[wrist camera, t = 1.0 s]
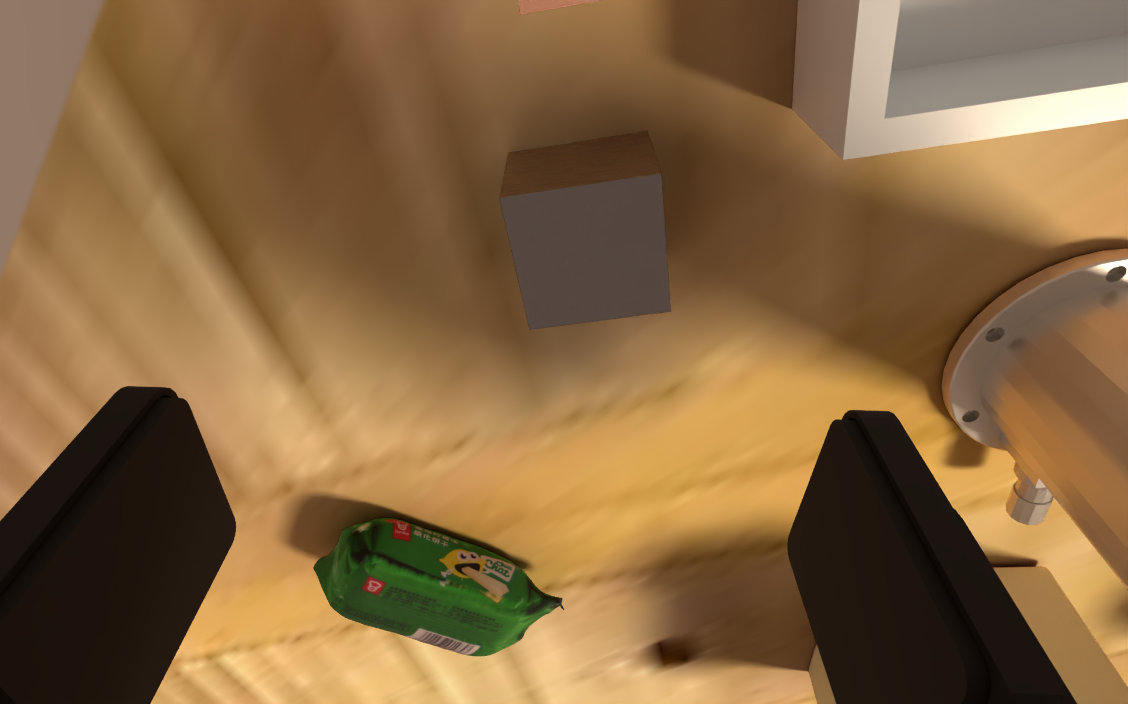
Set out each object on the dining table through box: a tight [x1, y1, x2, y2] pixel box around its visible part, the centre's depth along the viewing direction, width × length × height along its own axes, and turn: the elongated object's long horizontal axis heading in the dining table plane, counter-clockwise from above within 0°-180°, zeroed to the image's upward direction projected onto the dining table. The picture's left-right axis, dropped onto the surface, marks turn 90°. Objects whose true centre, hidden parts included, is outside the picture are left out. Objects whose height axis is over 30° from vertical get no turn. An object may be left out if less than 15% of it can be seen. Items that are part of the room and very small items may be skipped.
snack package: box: [313, 518, 564, 656], centre depth 43 cm, size 7×16×5 cm, turn 59°
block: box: [500, 131, 671, 330], centre depth 27 cm, size 6×6×5 cm
